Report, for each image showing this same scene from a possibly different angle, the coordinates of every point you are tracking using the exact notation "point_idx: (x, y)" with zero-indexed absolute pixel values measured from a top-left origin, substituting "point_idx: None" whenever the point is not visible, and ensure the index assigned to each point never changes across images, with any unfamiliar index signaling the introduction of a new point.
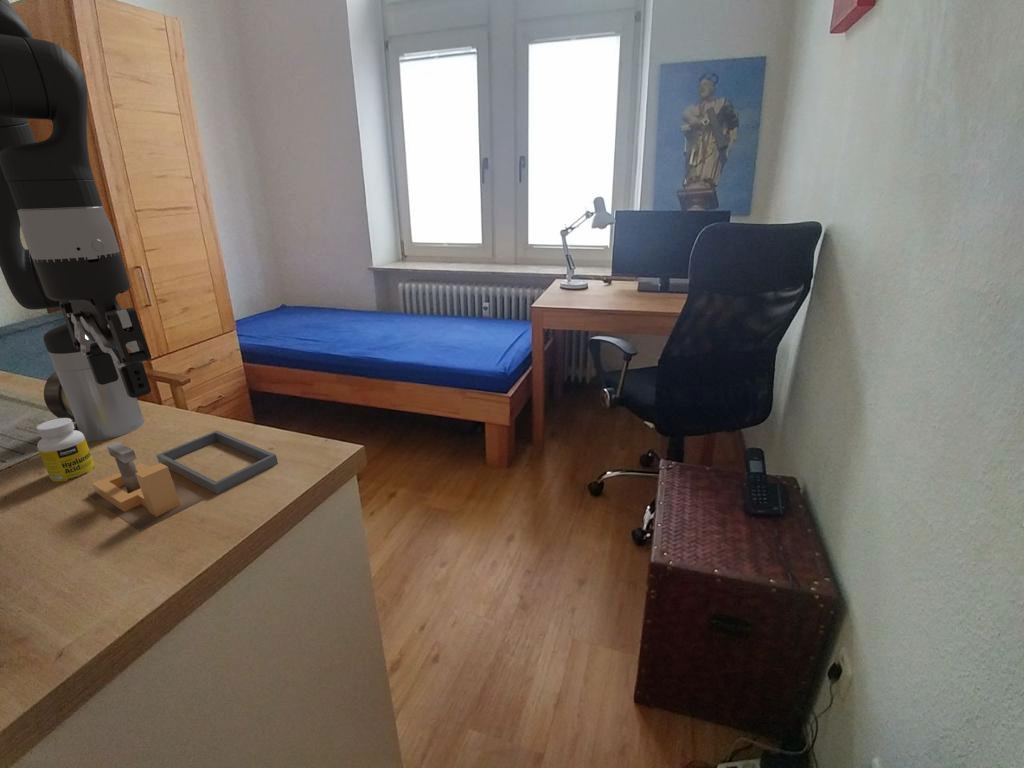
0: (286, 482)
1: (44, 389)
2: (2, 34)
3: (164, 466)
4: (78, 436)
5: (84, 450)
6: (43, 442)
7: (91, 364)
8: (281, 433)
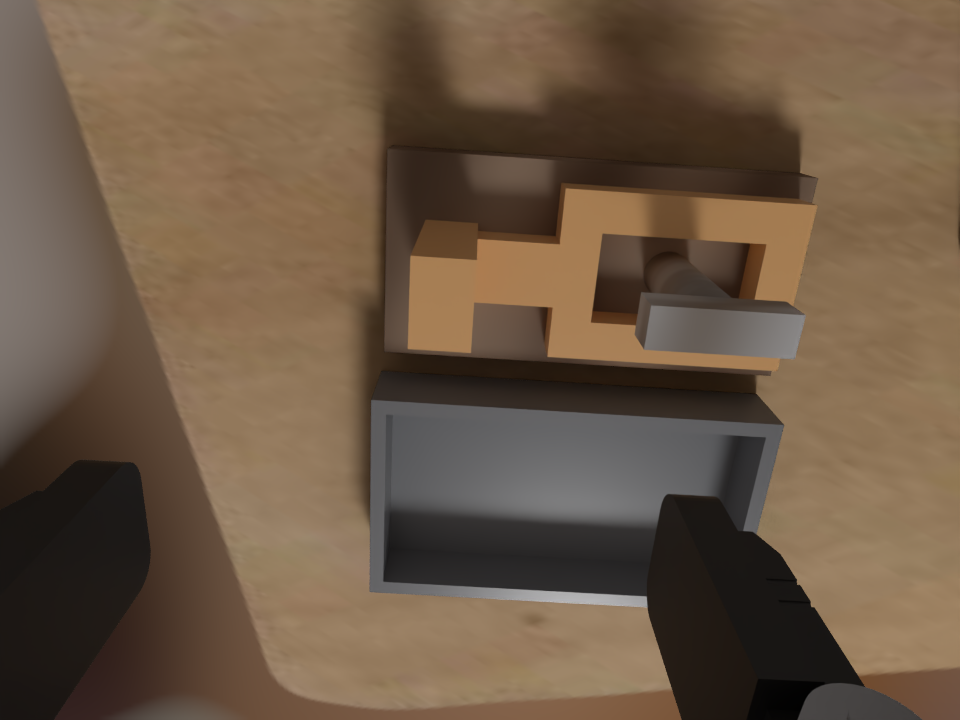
0: (303, 521)
1: None
2: None
3: (423, 344)
4: None
5: None
6: None
7: (724, 614)
8: (592, 687)
